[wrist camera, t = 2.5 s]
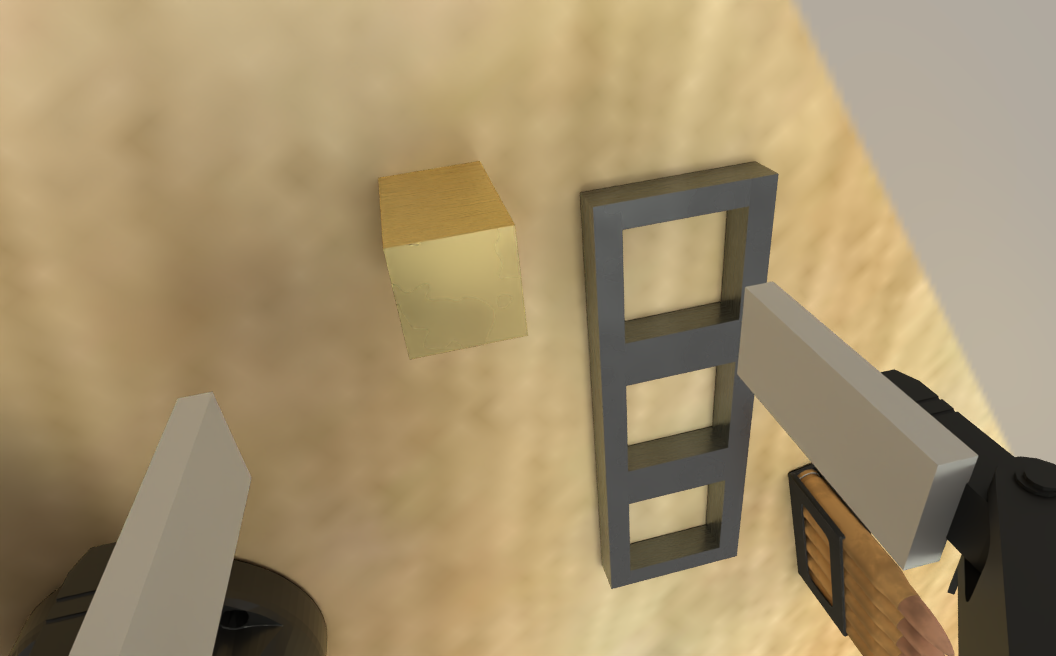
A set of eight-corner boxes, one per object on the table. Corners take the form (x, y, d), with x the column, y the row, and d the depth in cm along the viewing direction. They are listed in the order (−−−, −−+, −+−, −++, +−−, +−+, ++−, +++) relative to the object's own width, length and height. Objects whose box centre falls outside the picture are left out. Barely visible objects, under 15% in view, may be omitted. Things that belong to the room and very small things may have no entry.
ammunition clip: (787, 471, 39) (935, 653, 29) (815, 460, 39) (973, 638, 29) (798, 573, 45) (925, 754, 35) (822, 563, 45) (956, 741, 35)
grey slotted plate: (601, 564, 40) (611, 588, 38) (579, 192, 27) (592, 207, 25) (722, 533, 41) (736, 555, 39) (755, 161, 28) (778, 173, 26)
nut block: (399, 270, 27) (409, 359, 21) (378, 177, 25) (382, 248, 19) (492, 252, 27) (527, 335, 22) (479, 160, 25) (514, 225, 20)
